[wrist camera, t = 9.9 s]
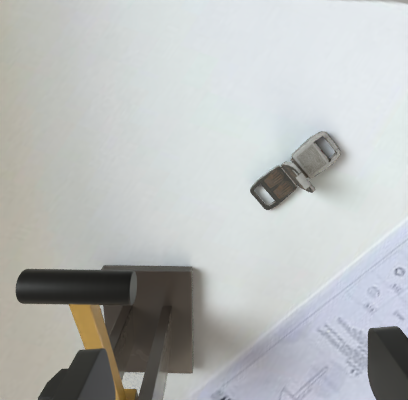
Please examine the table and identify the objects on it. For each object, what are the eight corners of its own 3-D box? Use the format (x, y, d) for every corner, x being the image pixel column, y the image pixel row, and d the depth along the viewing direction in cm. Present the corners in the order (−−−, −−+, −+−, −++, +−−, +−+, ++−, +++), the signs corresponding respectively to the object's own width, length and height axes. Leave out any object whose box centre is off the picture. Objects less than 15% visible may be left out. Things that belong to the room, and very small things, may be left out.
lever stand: (103, 265, 36) (37, 362, 22) (192, 266, 35) (178, 365, 22) (112, 363, 39) (58, 499, 26) (193, 365, 39) (181, 503, 25)
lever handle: (29, 256, 18) (7, 294, 16) (136, 258, 18) (126, 296, 16) (92, 405, 28) (82, 440, 26) (162, 407, 27) (157, 442, 25)
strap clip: (321, 127, 31) (337, 131, 27) (341, 153, 32) (359, 160, 28) (247, 187, 33) (251, 200, 29) (267, 211, 34) (274, 226, 30)
